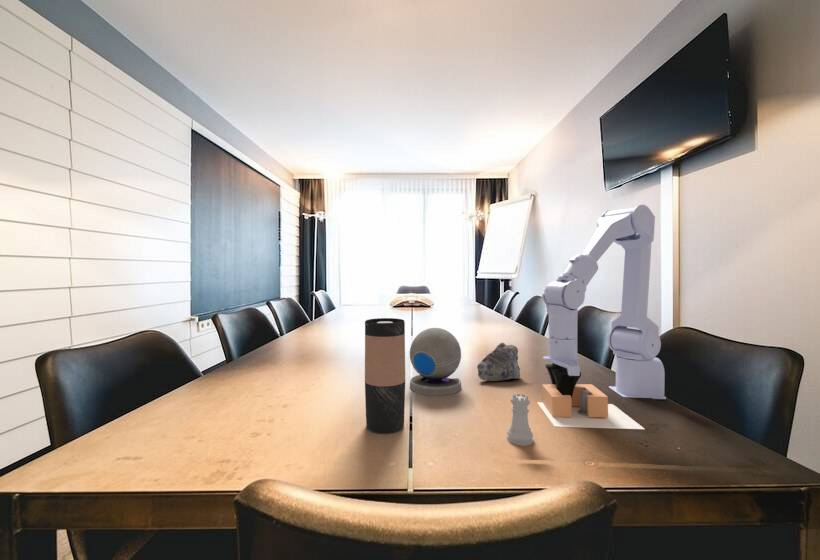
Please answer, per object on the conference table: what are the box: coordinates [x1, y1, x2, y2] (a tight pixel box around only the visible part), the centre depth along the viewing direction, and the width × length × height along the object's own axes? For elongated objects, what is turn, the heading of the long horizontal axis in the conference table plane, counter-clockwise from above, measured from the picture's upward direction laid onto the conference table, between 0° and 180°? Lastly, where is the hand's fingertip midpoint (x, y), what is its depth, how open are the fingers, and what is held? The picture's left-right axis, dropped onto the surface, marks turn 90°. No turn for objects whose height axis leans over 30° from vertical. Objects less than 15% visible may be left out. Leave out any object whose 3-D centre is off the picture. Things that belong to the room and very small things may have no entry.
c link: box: [541, 383, 609, 417], centre depth 78 cm, size 8×10×4 cm
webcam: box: [409, 327, 462, 396], centre depth 95 cm, size 13×13×15 cm
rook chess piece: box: [506, 393, 534, 446], centre depth 64 cm, size 4×4×8 cm
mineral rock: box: [476, 342, 521, 382], centre depth 102 cm, size 13×11×10 cm
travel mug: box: [364, 317, 406, 435], centre depth 71 cm, size 8×8×20 cm
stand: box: [536, 390, 645, 430], centre depth 75 cm, size 16×13×5 cm
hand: (562, 400), depth 81 cm, fingers closed on c link, 2 cm apart
